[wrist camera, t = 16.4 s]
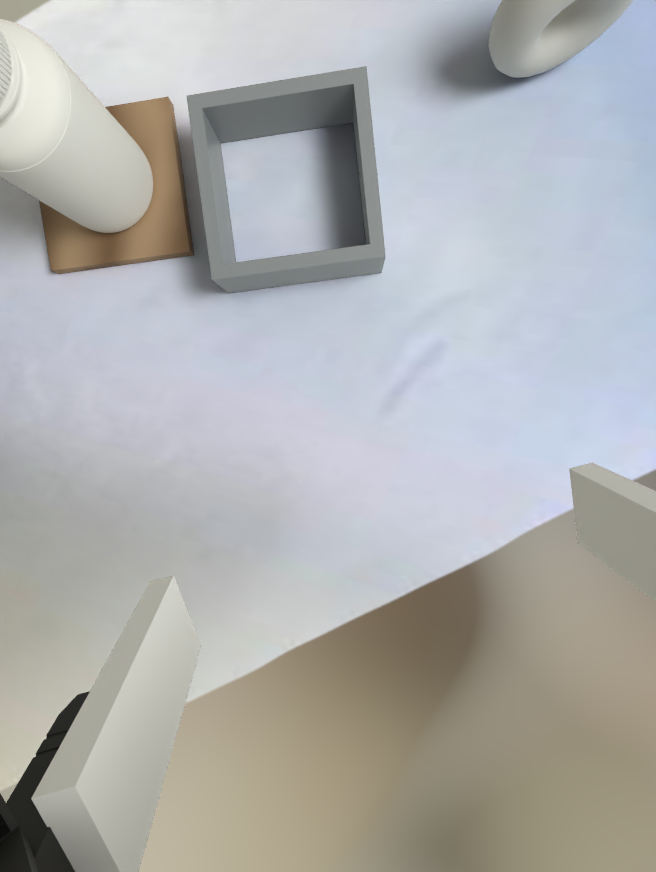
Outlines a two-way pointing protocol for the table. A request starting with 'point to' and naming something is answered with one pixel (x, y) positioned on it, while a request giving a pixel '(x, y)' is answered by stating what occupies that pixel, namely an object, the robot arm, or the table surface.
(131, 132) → the pad
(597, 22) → the donut
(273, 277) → the sleeve
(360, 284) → the table surface
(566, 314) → the table surface
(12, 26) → the pill bottle
